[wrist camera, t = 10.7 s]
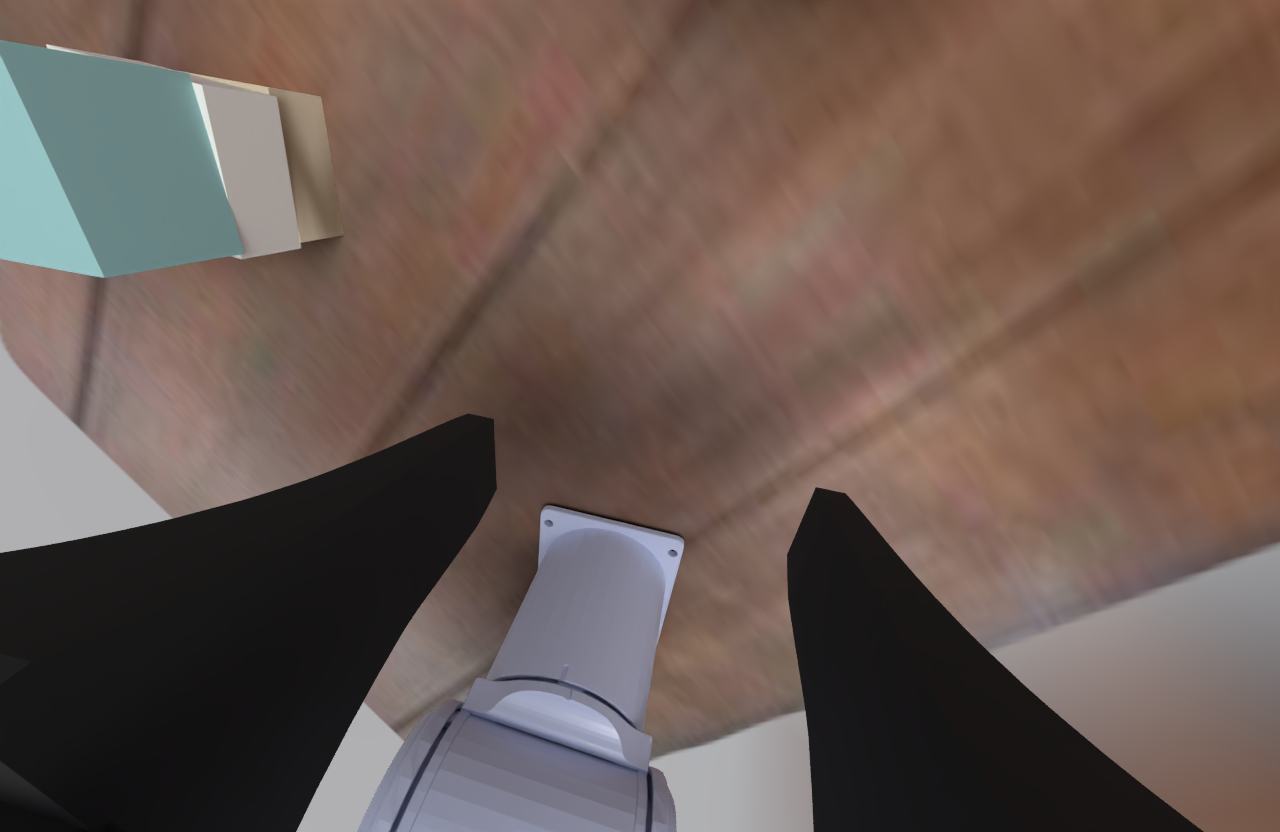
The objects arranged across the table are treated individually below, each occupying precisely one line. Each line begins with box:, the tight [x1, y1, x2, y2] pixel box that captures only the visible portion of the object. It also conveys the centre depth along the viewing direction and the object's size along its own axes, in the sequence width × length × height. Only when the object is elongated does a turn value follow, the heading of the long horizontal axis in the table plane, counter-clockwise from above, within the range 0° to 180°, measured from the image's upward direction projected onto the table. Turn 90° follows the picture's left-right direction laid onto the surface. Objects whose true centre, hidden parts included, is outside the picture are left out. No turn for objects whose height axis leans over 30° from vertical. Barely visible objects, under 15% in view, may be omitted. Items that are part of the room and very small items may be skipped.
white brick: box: [46, 44, 301, 259], centre depth 15 cm, size 5×5×2 cm
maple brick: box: [176, 70, 344, 243], centre depth 18 cm, size 5×5×2 cm
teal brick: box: [0, 40, 244, 278], centre depth 13 cm, size 5×5×4 cm
